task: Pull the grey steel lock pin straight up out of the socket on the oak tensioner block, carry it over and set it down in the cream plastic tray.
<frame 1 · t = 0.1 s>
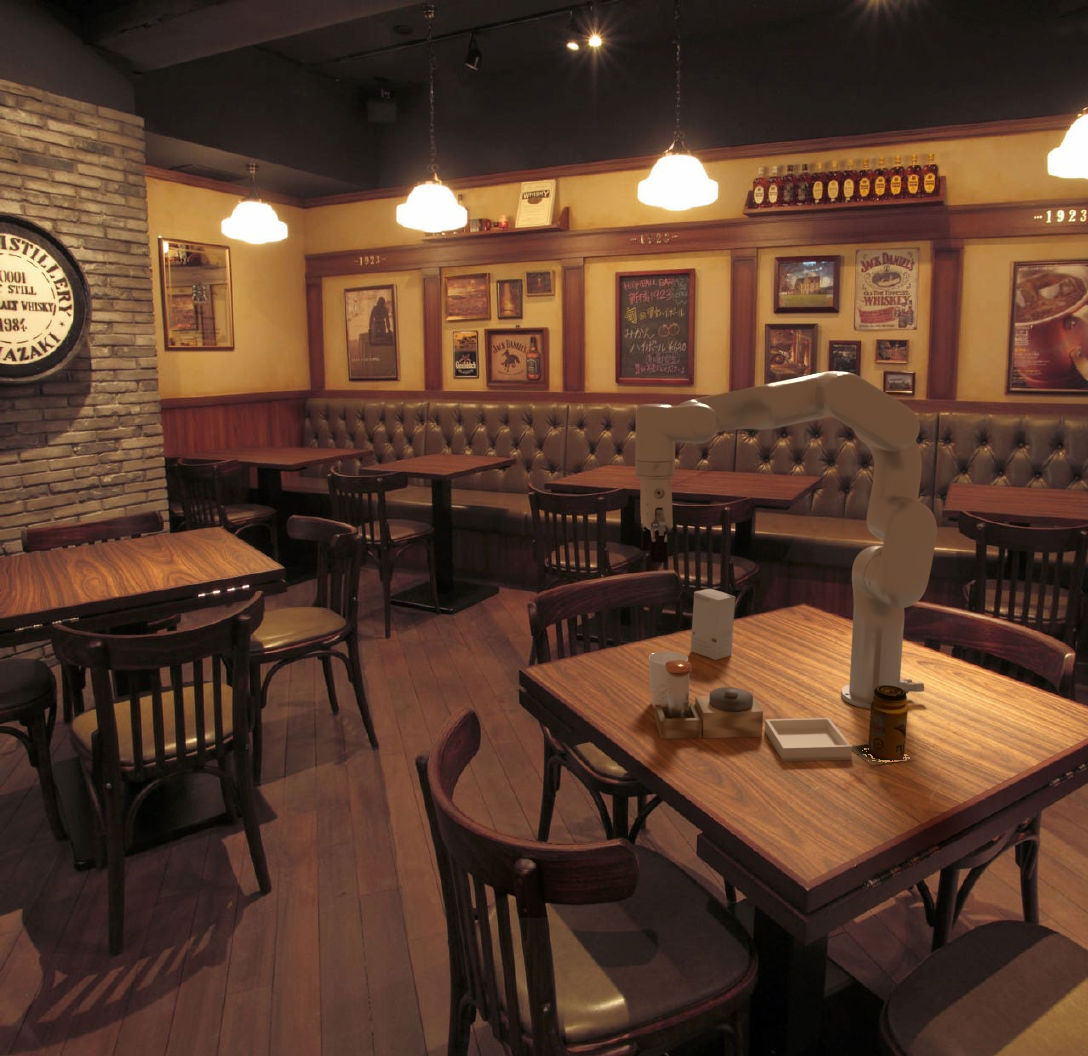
hand: (654, 555, 170), 31 cm above the table, fingers open, 9 cm apart
lock pin: (677, 729, 165), resting in tensioner block
white cup: (667, 705, 177), on the table
condiment: (881, 755, 153), on the table
tensioner block: (709, 728, 165), on the table
tray: (806, 745, 157), on the table
skincare box: (712, 654, 205), on the table
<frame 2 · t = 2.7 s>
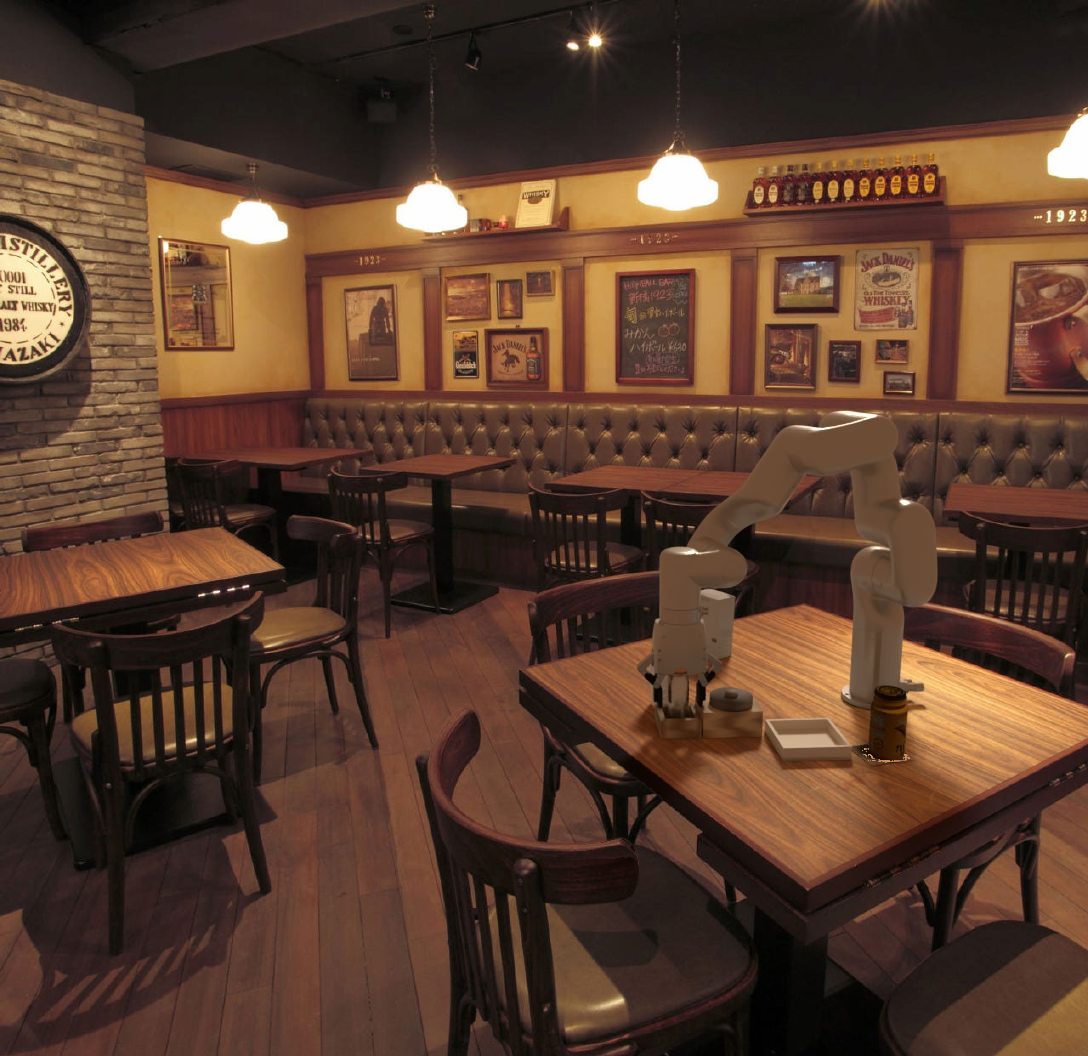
hand: (679, 704, 164), 5 cm above the table, fingers open, 7 cm apart
nothing on the table moved.
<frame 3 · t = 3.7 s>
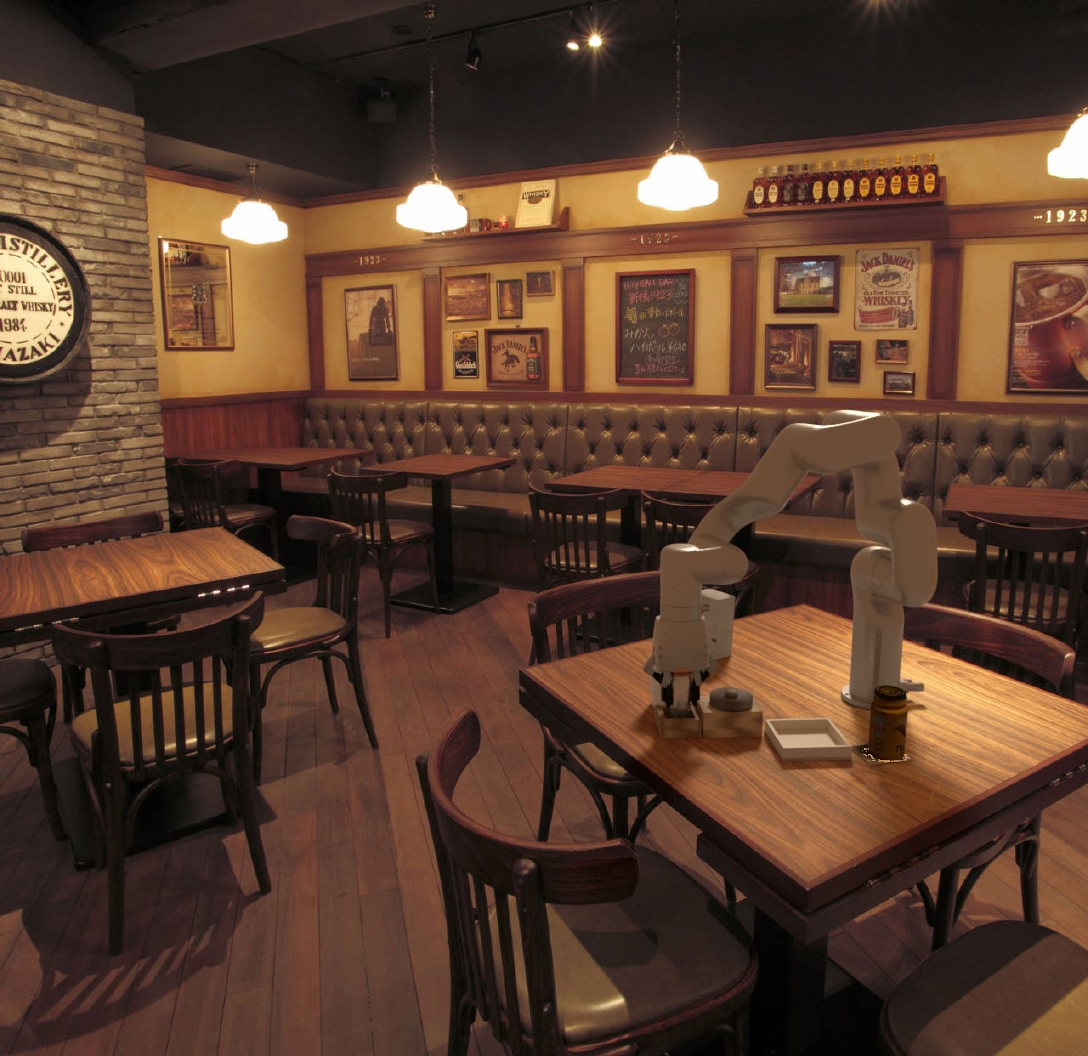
hand: (680, 703, 164), 5 cm above the table, fingers open, 4 cm apart
lock pin: (679, 729, 165), resting in tensioner block, touching gripper
everything else where it was.
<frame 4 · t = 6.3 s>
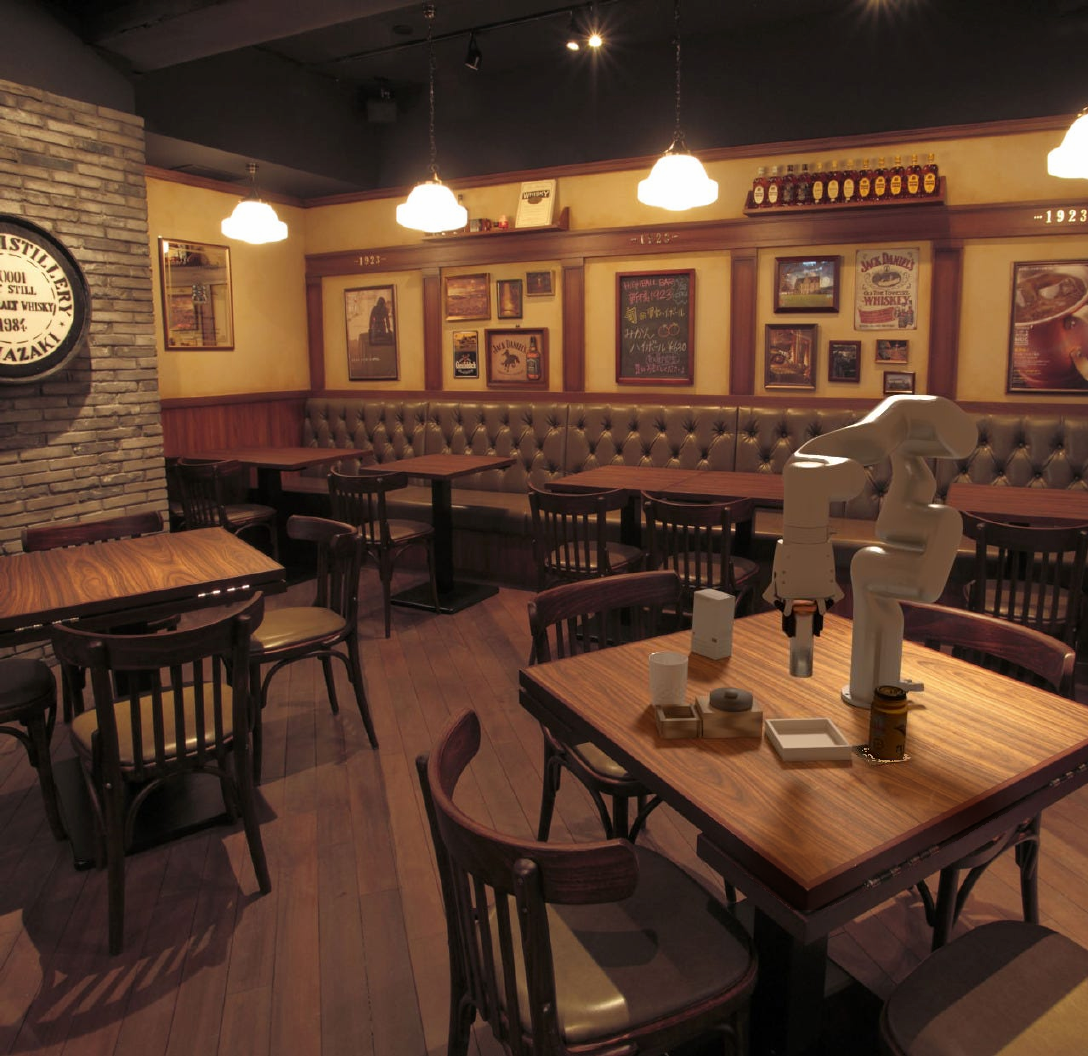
hand: (802, 633, 154), 21 cm above the table, fingers closed on lock pin, 4 cm apart
lock pin: (800, 673, 155), point 13 cm above the table, touching gripper
everything else where it was.
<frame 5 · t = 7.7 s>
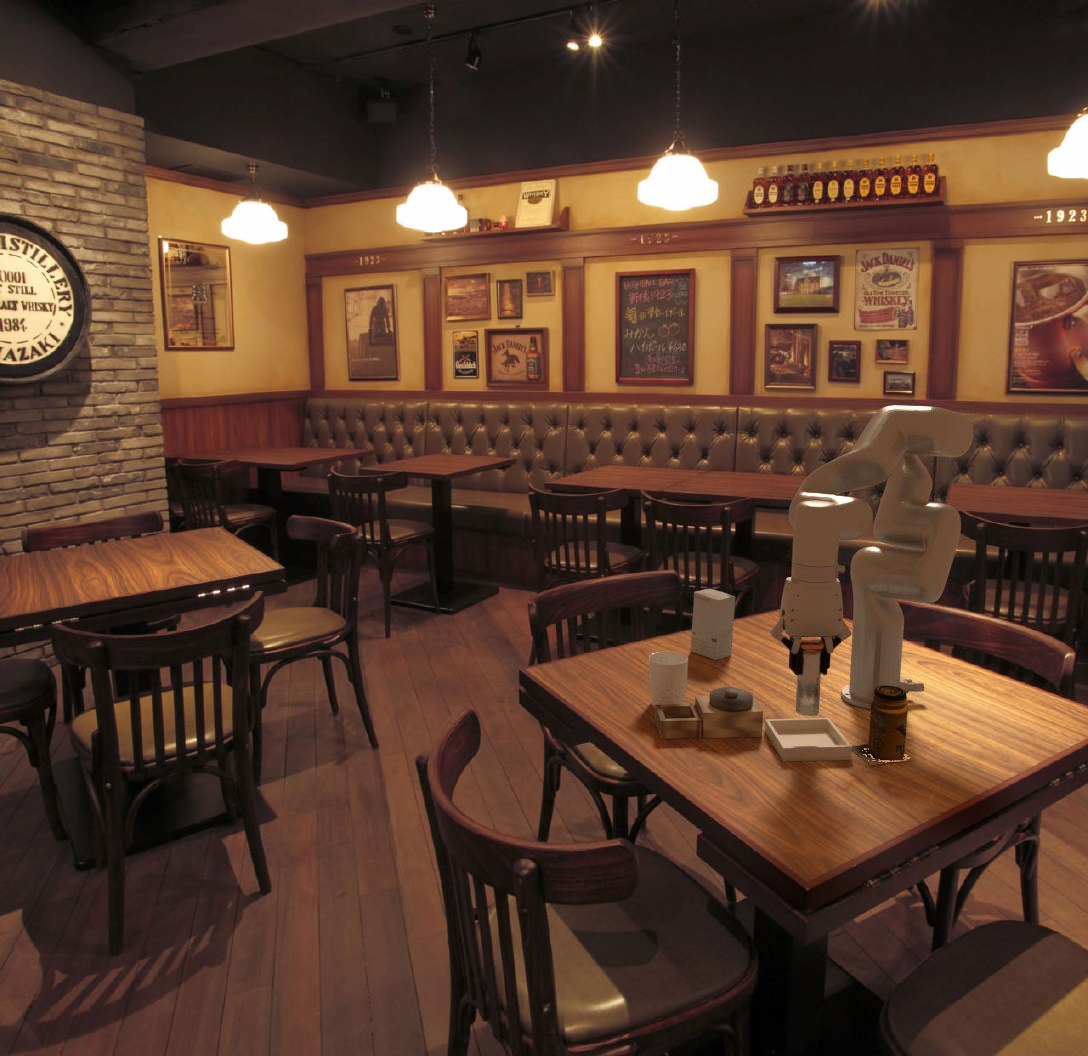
hand: (808, 671, 154), 14 cm above the table, fingers closed on lock pin, 4 cm apart
lock pin: (807, 711, 155), point 7 cm above the table, touching gripper
everything else where it was.
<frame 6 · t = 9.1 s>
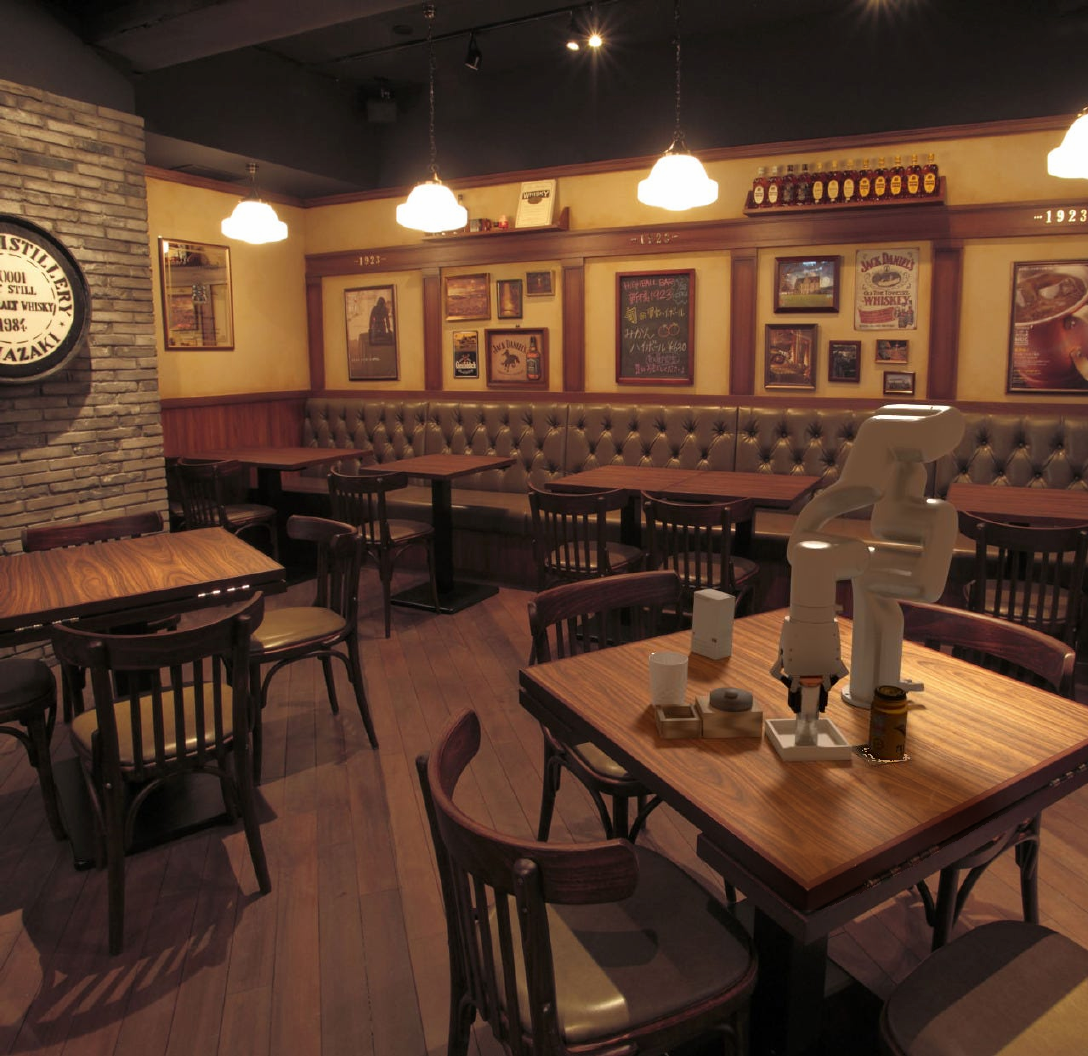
hand: (807, 709, 156), 7 cm above the table, fingers closed on lock pin, 4 cm apart
lock pin: (806, 743, 157), point 1 cm above the table, touching gripper, tray
everything else where it was.
when the fingers open (7 cm above the table, at t = 9.1 s): lock pin stays where it is, resting on tray.
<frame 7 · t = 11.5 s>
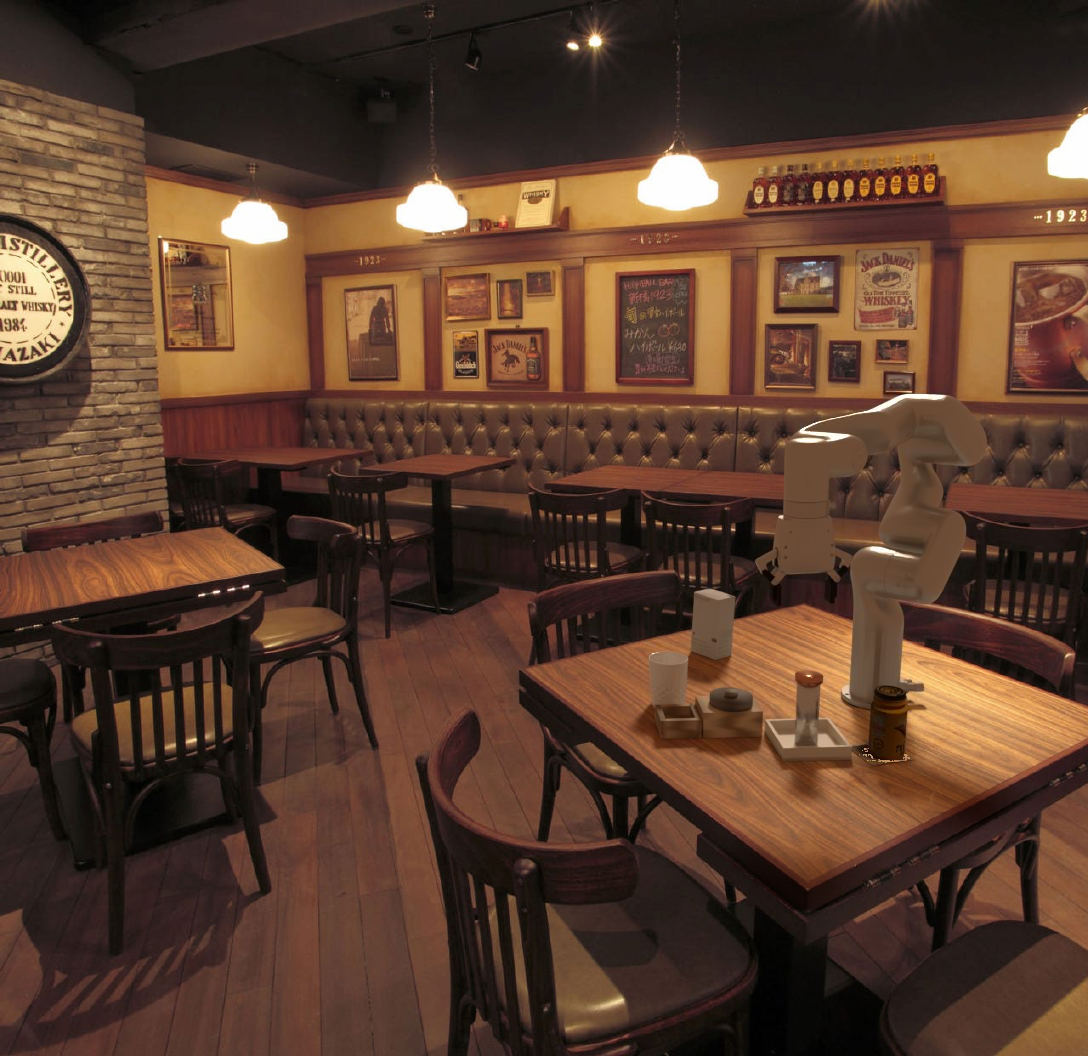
hand: (802, 602, 156), 26 cm above the table, fingers open, 9 cm apart
lock pin: (806, 743, 157), point 1 cm above the table, touching tray
everything else where it was.
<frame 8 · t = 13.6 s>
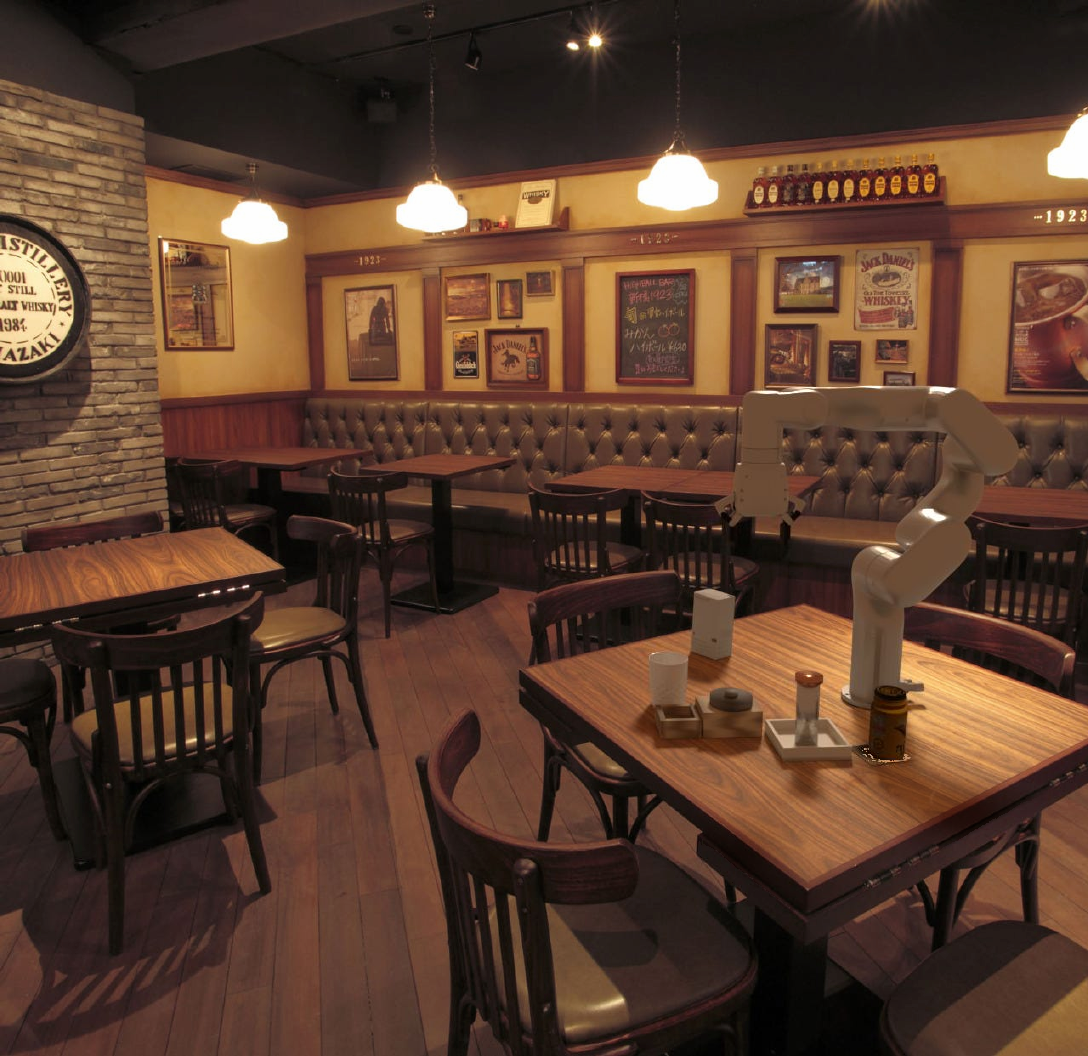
hand: (758, 544, 168), 33 cm above the table, fingers open, 9 cm apart
nothing on the table moved.
at the end: lock pin inside the target area on the tray (0.4 cm from its centre), point 0.6 cm above the tray's base; lock pin touching tray; the gripper is holding nothing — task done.
